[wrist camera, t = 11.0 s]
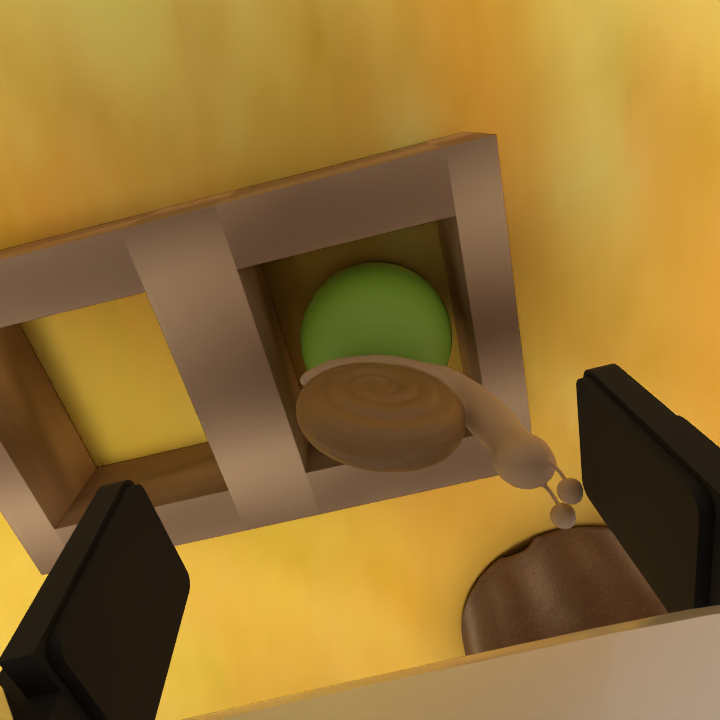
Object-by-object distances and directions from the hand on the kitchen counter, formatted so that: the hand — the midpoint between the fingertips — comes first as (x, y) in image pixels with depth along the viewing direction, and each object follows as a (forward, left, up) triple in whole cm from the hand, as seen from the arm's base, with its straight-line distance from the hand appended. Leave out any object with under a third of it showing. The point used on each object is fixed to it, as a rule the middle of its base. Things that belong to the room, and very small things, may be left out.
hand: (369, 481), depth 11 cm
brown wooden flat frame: (+1, -5, -11) cm, 12 cm away
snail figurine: (+1, +1, -12) cm, 12 cm away
